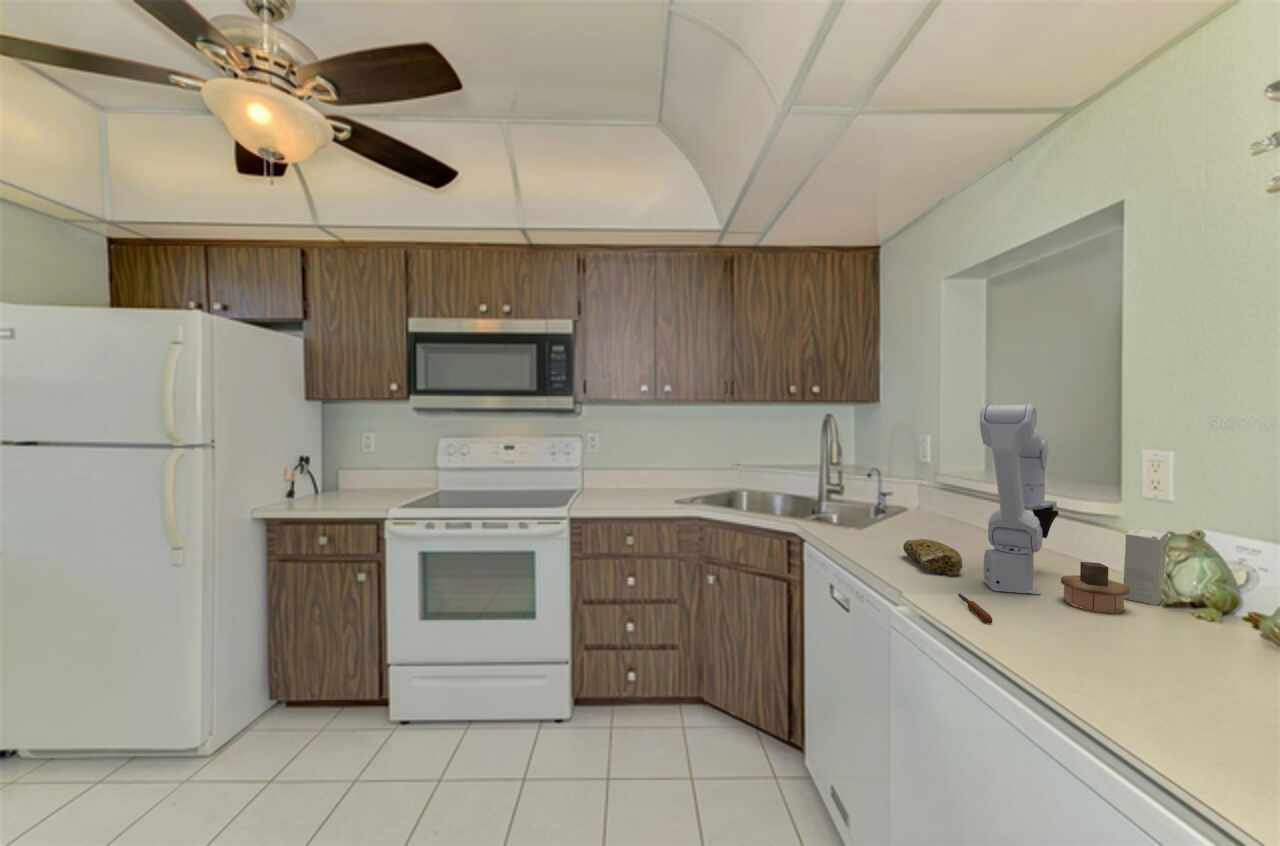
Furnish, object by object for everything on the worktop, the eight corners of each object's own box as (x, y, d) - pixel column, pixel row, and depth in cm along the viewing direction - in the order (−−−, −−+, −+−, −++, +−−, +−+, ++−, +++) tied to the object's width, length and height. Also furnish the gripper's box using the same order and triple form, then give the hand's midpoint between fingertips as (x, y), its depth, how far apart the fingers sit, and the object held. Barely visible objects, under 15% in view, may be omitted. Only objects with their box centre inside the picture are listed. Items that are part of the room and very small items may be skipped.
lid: (1075, 592, 113) (1075, 569, 113) (1051, 577, 123) (1052, 556, 123) (1141, 597, 109) (1141, 573, 109) (1111, 581, 120) (1111, 559, 120)
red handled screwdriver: (993, 626, 106) (993, 616, 106) (985, 625, 106) (985, 615, 106) (961, 599, 121) (961, 590, 121) (954, 599, 121) (954, 590, 121)
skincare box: (1130, 591, 126) (1131, 527, 126) (1166, 598, 121) (1167, 531, 121) (1122, 599, 120) (1123, 532, 120) (1159, 607, 116) (1160, 537, 116)
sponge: (968, 583, 136) (954, 549, 155) (963, 554, 135) (950, 523, 153) (910, 586, 142) (904, 553, 160) (905, 558, 141) (899, 528, 159)
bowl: (1078, 610, 114) (1078, 591, 114) (1058, 596, 122) (1058, 578, 122) (1131, 614, 111) (1131, 595, 111) (1107, 600, 120) (1107, 582, 120)
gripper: (1022, 487, 133) (1021, 543, 133) (1068, 485, 137) (1068, 540, 137) (997, 484, 140) (996, 536, 140) (1041, 482, 143) (1041, 534, 144)
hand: (1030, 538), depth 139 cm, fingers open, 7 cm apart
